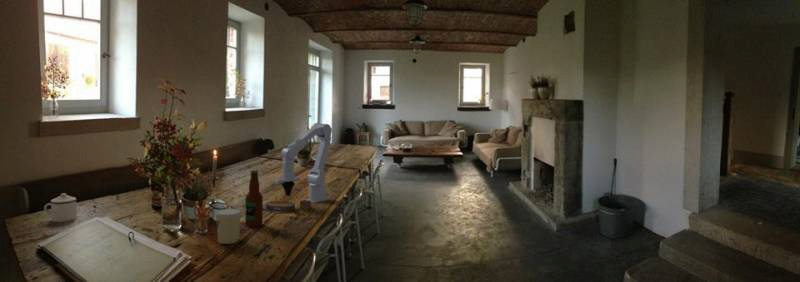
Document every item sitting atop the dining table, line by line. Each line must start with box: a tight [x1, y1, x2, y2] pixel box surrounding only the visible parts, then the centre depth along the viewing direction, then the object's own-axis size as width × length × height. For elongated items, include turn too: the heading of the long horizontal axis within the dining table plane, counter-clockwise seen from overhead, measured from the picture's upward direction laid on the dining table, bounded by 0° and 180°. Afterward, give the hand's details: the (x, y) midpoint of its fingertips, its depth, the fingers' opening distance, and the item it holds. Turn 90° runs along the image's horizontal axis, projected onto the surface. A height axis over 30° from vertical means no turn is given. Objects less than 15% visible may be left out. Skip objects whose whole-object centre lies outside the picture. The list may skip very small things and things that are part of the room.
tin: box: [265, 200, 296, 212], centre depth 218 cm, size 15×3×8 cm
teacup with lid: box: [43, 192, 78, 223], centre depth 186 cm, size 12×9×12 cm
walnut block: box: [299, 199, 312, 211], centre depth 223 cm, size 4×4×4 cm
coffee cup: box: [215, 208, 242, 245], centre depth 170 cm, size 9×9×12 cm
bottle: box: [244, 169, 264, 228], centre depth 190 cm, size 7×7×25 cm
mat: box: [262, 204, 291, 215], centre depth 219 cm, size 8×18×1 cm, turn 50°
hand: (288, 195), depth 224 cm, fingers closed
